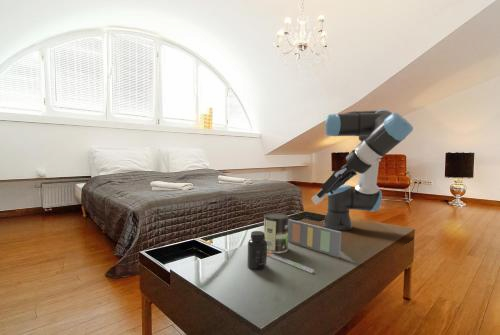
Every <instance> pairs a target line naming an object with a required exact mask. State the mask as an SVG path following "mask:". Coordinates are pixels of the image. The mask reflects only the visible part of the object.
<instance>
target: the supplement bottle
mask: <svg viewBox="0 0 500 335" xmlns="http://www.w3.org/2000/svg"><path fill="white" fill-rule="evenodd" d="M264 239H265V233H264V231H262V230H261V231H260V230H253V231H251V233H250V239H249V240H248V242H247V258H246V259H247V263H246V264H247V267H248V268H249V269H250V270H253V271H262V270H265V269H266V268H267V264H268V259H267V258H268V256H267V242H266V241H265V240H264Z"/></svg>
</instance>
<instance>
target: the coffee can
mask: <svg viewBox="0 0 500 335" xmlns="http://www.w3.org/2000/svg"><path fill="white" fill-rule="evenodd" d="M263 217H264V218H263V219H264V220H263V223H264V224H263V232H264V233H265V239H264V240H265V241H266V242H267V252H270V253H273V254H284V253H286V252H288V250H289V249H288V246H289V243H288V220H289V219H290V216H289V214H285V213H280V212H270V213H268V212H267V213H265V214H264V215H263Z"/></svg>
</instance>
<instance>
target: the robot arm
mask: <svg viewBox="0 0 500 335" xmlns="http://www.w3.org/2000/svg"><path fill="white" fill-rule="evenodd" d="M324 126H325V129H324V130H325V135H326V136H328V137H358V140H359V142H360V143H358V144H357V146H355V148H354V149H352V151H350V152H349V153H348V154H347V155H346V156H345V160H346V164H343V165H342V166H340V168H339V169H335V170H334V171H333V173H332V174H331V175H330V176H329V177H328V179H327V180H326V181H325V182H324V183H323V184H321V186H320V188H321V189H320V190H319V191H317V193H315V194H314V195H313V196H312V197H311V198H310V200H311V201H312V202H313V203H314V205H318V204H319V203H321V202H322V201H323V200H324V199H325V198H326V197H327V210H326V215H325V217H324V220H323V227H324V228H327V229H332V230H336V231H350V230H352V229H353V222H352V219H351V216H350V210H356V211H366V212H377V211H378V210H380V207H381V203H382V198H383V191H382V190H381V189H380V187H379V186H378V185H377V183H378V175H379V166H380V162H381V161H382V159H381V158H383V157H384V156H385V155H387V154H388V153H389V152H390V151H392V149H394V148H395V147H396V146H397V145H399V144H400V143H401V142H403V141H404V140H406V138H407V137H408V136H409V135H410V134H411V133H412V132H413V130H414V127H413V125H412V123H410V122H409V121H408V120H407V119H406V118H404V116H402V115H400V114H399V113H397V112H392V111H390V110H387V109H380V110H378V109H377V110H360V111H355V110H354V111H347V112H344V113H333V114H329V113H328V114H327V115H326V118H325V125H324ZM357 175H358V183H356V184H355V186H354V187H352V186H351V185H349V184H345V183H347V182H348V181H349V180H351V179H352V178H353V177H355V176H357Z"/></svg>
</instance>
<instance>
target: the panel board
mask: <svg viewBox="0 0 500 335" xmlns="http://www.w3.org/2000/svg"><path fill="white" fill-rule="evenodd" d="M288 242H289V243H291V244H294V245H298V246H300V247H304V248H307V249H311V250H313V251H316V252H320V253H322V254H325V255H329V256H332V257H334V258H338V259H339V258H341V248H342V231H341V230H335V229H330V228H327V227H324V226H318V225H315V224H311V223H307V222H303V221H299V220H294V219H290V218H289V220H288Z"/></svg>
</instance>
